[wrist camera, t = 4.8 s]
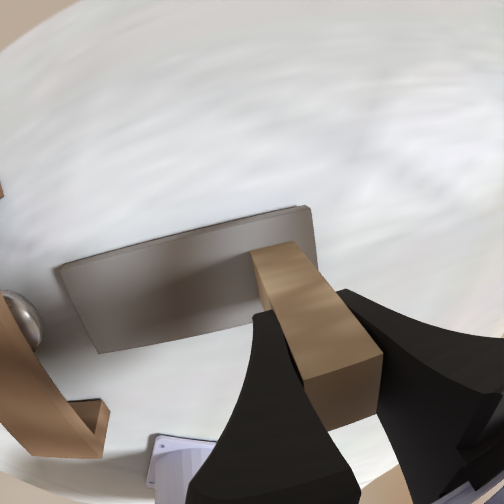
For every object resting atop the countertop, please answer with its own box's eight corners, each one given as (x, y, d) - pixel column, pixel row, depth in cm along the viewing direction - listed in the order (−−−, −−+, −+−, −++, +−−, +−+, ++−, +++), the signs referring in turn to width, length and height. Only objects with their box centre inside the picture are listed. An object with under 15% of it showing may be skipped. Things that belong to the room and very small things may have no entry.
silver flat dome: (47, 353, 15) (42, 363, 14) (-2, 337, 14) (-9, 346, 14) (41, 297, 14) (33, 307, 13) (-12, 283, 13) (-20, 290, 12)
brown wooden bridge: (110, 411, 17) (102, 458, 14) (45, 415, 17) (31, 455, 13) (-2, 174, 11) (-51, 191, 7) (-63, 210, 11) (-105, 232, 7)
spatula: (305, 205, 14) (422, 297, 6) (316, 296, 16) (399, 423, 8) (64, 264, 13) (-27, 386, 5) (101, 345, 15) (61, 481, 7)
